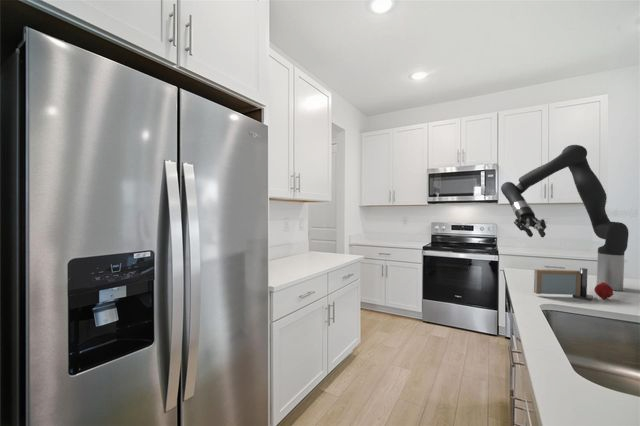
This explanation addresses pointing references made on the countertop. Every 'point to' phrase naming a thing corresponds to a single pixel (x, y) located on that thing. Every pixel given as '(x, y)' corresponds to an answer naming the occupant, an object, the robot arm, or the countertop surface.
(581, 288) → the post
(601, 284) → the onion
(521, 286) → the countertop surface
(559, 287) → the wooden picture frame
